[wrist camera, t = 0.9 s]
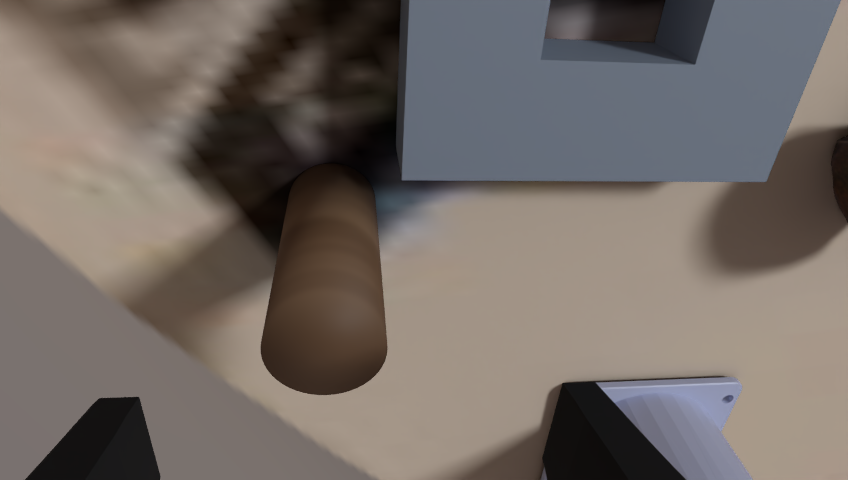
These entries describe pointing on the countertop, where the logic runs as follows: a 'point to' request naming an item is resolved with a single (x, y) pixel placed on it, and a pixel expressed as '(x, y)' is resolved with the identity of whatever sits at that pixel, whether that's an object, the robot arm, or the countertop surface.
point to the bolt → (841, 174)
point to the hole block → (601, 92)
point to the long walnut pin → (327, 286)
